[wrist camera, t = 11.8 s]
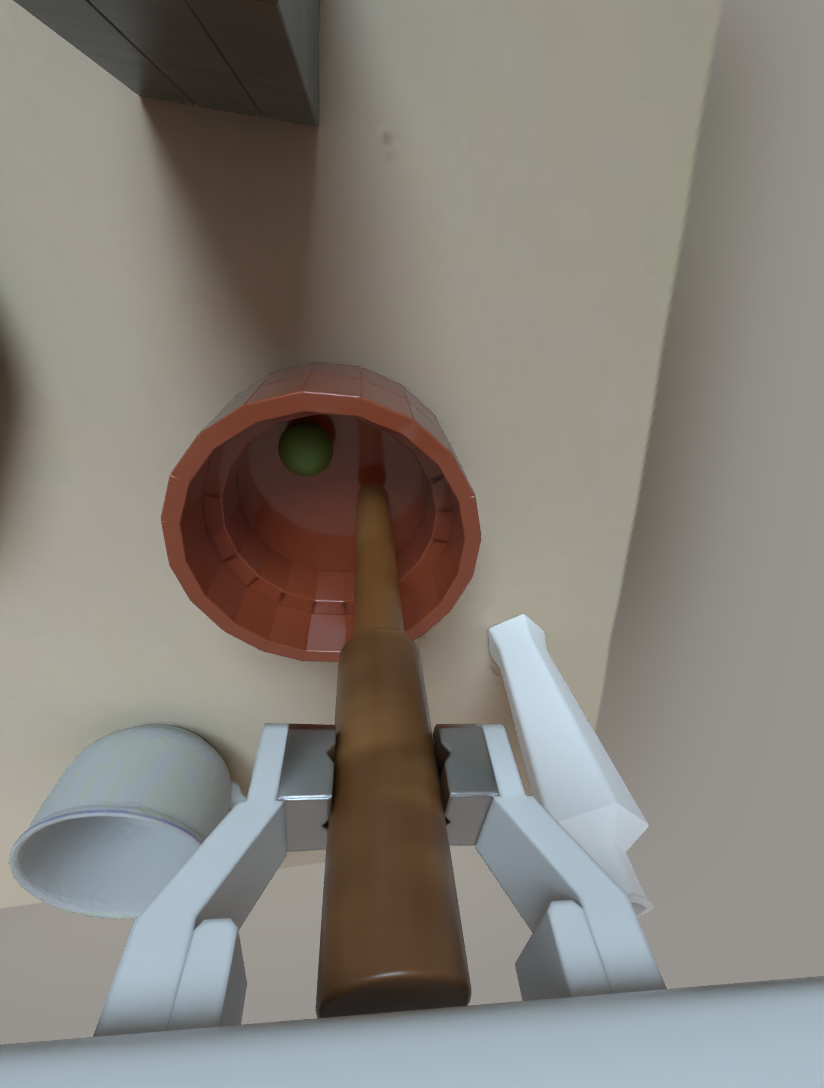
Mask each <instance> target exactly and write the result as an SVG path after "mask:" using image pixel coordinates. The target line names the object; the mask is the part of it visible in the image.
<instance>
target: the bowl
mask: <svg viewBox="0 0 824 1088" xmlns="http://www.w3.org/2000/svg"><path fill="white" fill-rule="evenodd" d="M297 422H312V423H315V424H317V425H319V426H320V427H322V428H323V429H324V430H325V431H326V432H327V433H328V435H329V436H330V438H331V440H332V444H333V457H332V460H331V462H330V464H329V465H328V467H327V468H326V469H325V470H324V471H322V472H321V473H319V474H317V475H314V476H300V475H297V474H295V473H293V472H291V471H290V470H289V469H287V468H286V467H285V465H284V464H283V462H282V461H281V459H280V456H279V452H278V444H279V439H280V437H281V435H282V433H283V432H284V431H285V429H286V428H288V427H289V426H290V425H292V424H294V423H297ZM372 483H374V484H378V485H381V486H382V487H384V488H385V490H386V491H387V493H388V499H389V507H390V516H391V524H392V532H393V541H394V549H395V558H396V566H397V575H398V583H399V592H400V600H401V609H402V617H403V626H404V634H405V635H407V636H408V637H410V638H411V639H412V640H415V639H417V638H419V637H421V636H422V635H424V634H425V633H426V632H427V631H428V630H430V629H431V628H432V627H433V626H434V625H435V624H436V623H438V622H439V621H440V620H441V619H442V618H443V617H444V616H446V615H447V614H448V613H449V612H450V611H451V609H453V608H454V606H455V604H456V603H457V601H458V600H459V598H460V596H461V595H462V593H463V591H464V590H465V588H466V587H467V585H468V583H469V582H470V580H471V579H472V576H473V573H474V569H475V564H476V560H477V555H478V551H479V546H480V542H481V531H480V524H479V517H478V510H477V503H476V496H475V494H474V491H473V489H472V487H471V485H470V483H469V481H468V479H467V477H466V475H465V473H464V471H463V469H462V466H461V464H460V462H459V460H458V458H457V456H456V454H455V452H454V450H453V448H452V446H451V444H450V442H449V441H448V439H447V437H446V435H445V433H444V431H443V429H442V428H441V426H440V424H439V422H438V420H437V418H436V417H435V415H434V414H433V413H432V412H431V411H430V410H429V409H428V408H427V407H426V406H425V405H424V404H423V403H422V402H420V401H419V400H418V399H417V398H416V397H415V396H414V395H413V394H412V393H411V392H410V391H409V390H407V389H406V388H405V387H404V386H402V385H401V384H399V383H397V382H394V381H392V380H390V379H388V378H386V377H383V376H381V375H379V374H377V373H375V372H372V371H370V370H368V369H366V368H361V367H360V366H350V365H341V364H331V363H321V362H317V363H316V362H313V363H309V364H305V365H301V366H296V367H292V368H288V369H283V370H279V371H275V372H272V373H270V374H268V375H267V376H265V377H264V378H262V379H261V380H259V381H258V382H256V383H255V384H253V385H251V386H250V387H248V388H247V389H245V390H244V391H242V392H241V393H239V394H238V395H236V396H235V397H234V398H233V399H232V400H231V402H230V403H229V404H228V405H227V406H226V407H225V408H224V409H223V410H222V411H221V412H220V413H219V414H218V415H217V416H216V417H215V418H214V419H213V420H212V421H211V422H210V423H209V424H208V425H207V426H206V427H205V428H204V429H203V430H202V431H201V432H200V433H199V434H198V435H197V437H196V438H195V439H194V441H193V442H192V444H191V445H190V447H189V448H188V449H187V451H186V452H185V454H184V455H183V457H182V458H181V459H180V461H179V462H178V464H177V465H176V466H175V468H174V469H173V471H172V472H171V475H170V477H169V482H168V486H167V491H166V496H165V501H164V505H163V510H162V515H161V523H162V529H163V534H164V540H165V545H166V550H167V556H168V561H169V565H170V567H171V569H172V570H173V572H174V574H175V575H176V577H177V579H178V580H179V582H180V584H181V586H182V587H183V589H184V591H185V592H186V594H187V596H188V597H189V599H190V601H192V602H193V603H194V604H195V605H196V606H197V607H198V608H199V609H200V610H201V611H202V612H203V613H205V614H206V615H207V616H208V617H209V618H210V619H211V620H212V621H213V622H214V623H216V624H217V625H218V626H219V627H220V628H221V629H222V630H224V631H225V632H226V633H228V634H230V635H232V636H234V637H236V638H238V639H240V640H242V641H244V642H246V643H248V644H250V645H252V646H254V647H255V648H257V649H259V650H263V651H264V652H268V653H272V654H276V655H280V656H284V657H288V658H292V659H296V660H300V661H304V660H305V661H327V662H339V655H340V652H341V650H342V648H343V647H344V645H345V644H346V643H347V642H348V641H349V640H350V639H351V638H352V637H353V611H354V579H355V547H356V515H357V494H358V492H359V490H360V489H361V488H362V487H363V486H365V485H367V484H372Z"/></svg>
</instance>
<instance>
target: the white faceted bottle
mask: <svg viewBox="0 0 824 1088" xmlns="http://www.w3.org/2000/svg"><path fill="white" fill-rule="evenodd" d="M488 638H489V653H490V655H491V657H492V658H493V659H494V661H495V662H496V663H497V665H498V666H499V667H500V669H501V673H502V677H503V681H504V685H505V689H506V693H507V697H508V701H509V705H510V709H511V713H512V717H513V721H514V725H515V729H516V733H517V737H518V741H519V745H520V749H521V753H522V757H523V760H524V764H525V768H526V772H527V776H528V780H529V784H530V788H531V792H532V796H533V797H534V798H535V799H536V800H537V801H538V802H539V803H540V804H541V805H542V806H543V807H544V808H545V809H546V810H547V811H548V812H549V813H550V814H551V815H552V816H553V818H554V819H555V820H556V821H557V822H558V823H559V824H560V825H561V826H562V827H563V828H564V829H565V830H566V831H567V832H568V833H569V834H570V835H571V836H572V837H573V839H574V840H575V841H576V842H577V843H578V844H579V845H580V846H581V847H582V848H583V849H584V850H585V851H586V852H587V853H588V854H589V855H590V856H591V857H592V858H593V860H594V861H595V862H596V863H597V864H598V865H599V866H600V867H601V868H602V869H603V870H604V871H605V872H606V873H607V874H608V875H609V876H610V877H611V878H612V879H613V881H614V882H615V883H616V884H617V885H618V886H619V887H620V888H621V889H622V890H623V891H624V892H625V893H626V894H627V895H628V897H629V900H630V902H631V904H632V907H633V909H634V912H635V914H636V916H637V918H639V917H640V916H642V915H643V914H645V913H646V912H648V911H650V910H651V909H652V908H654V905H653V904H652V903H651V902H650V901H649V900H647V898H646V896H645V894H644V892H643V890H642V887H641V885H640V883H639V881H638V878H637V876H636V874H635V872H634V869H633V867H632V865H631V863H630V861H629V858H628V856H627V854H626V851H627V850H628V849H629V848H630V847H631V846H632V845H633V844H634V842H635V841H636V840H637V839H638V838H639V837H640V835H641V834H642V833H643V832H644V831H645V830H646V829H647V828H648V826H649V825H648V823H647V821H646V819H645V818H644V816H643V814H642V813H641V811H640V809H639V807H638V806H637V804H636V802H635V801H634V799H633V797H632V796H631V794H630V792H629V791H628V789H627V787H626V785H625V784H624V782H623V780H622V778H621V777H620V775H619V773H618V772H617V770H616V768H615V766H614V765H613V763H612V761H611V760H610V758H609V756H608V754H607V753H606V751H605V749H604V748H603V746H602V744H601V742H600V741H599V739H598V737H597V736H596V734H595V732H594V730H593V729H592V727H591V725H590V724H589V722H588V720H587V718H586V717H585V715H584V713H583V712H582V710H581V708H580V706H579V705H578V703H577V701H576V700H575V698H574V696H573V695H572V693H571V691H570V689H569V688H568V686H567V684H566V683H565V681H564V679H563V677H562V676H561V674H560V672H559V671H558V669H557V667H556V665H555V664H554V662H553V660H552V659H551V657H550V655H549V653H548V652H547V649H546V640H545V632H544V631H543V630H542V629H541V628H540V627H539V626H537V625H536V624H535V623H534V622H533V621H532V620H531V619H529V618H528V617H527V616H526V615H523V614H522V615H519V616H517V617H514V618H512V619H510V620H507V621H505V622H502V623H500V624H498V625H495V626H493V627H491V628H489V630H488Z"/></svg>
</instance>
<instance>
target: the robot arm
mask: <svg viewBox="0 0 824 1088" xmlns="http://www.w3.org/2000/svg"><path fill="white" fill-rule="evenodd" d="M336 727H337V725H319V724H268V723H265V725H264V728H263V730H262V733H261V737H260V742H259V746H258V751H257V755H256V760H255V764H254V769H253V773H252V778H251V782H250V787H249V791H248V796H247V800H246V801H239V802H238V803H237V804H236V805H235V806H234V807H233V808H232V810H231V811H230V812H229V813H228V814H227V815H226V816H225V818H224V819H223V820H222V821H221V822H220V823H219V824H218V826H217V827H216V828H215V829H214V830H213V831H212V832H211V834H210V835H209V836H208V837H207V838H206V839H205V840H204V842H203V843H202V844H201V845H200V846H199V847H198V848H197V850H196V851H195V852H194V853H193V854H192V855H191V856H190V858H189V859H188V860H187V861H186V862H185V863H184V864H183V866H182V867H181V868H180V869H179V870H178V871H177V872H176V874H175V875H174V876H173V877H172V878H171V879H170V880H169V882H168V883H167V884H166V885H165V886H164V887H163V888H162V889H161V891H160V892H159V893H158V894H157V895H156V896H155V897H154V899H153V900H152V901H151V902H150V903H149V904H148V905H147V907H146V908H145V909H144V910H143V911H142V912H141V913H140V915H139V916H138V917H137V918H136V919H135V921H134V924H133V926H132V929H131V932H130V935H129V938H128V940H127V943H126V946H125V949H124V952H123V954H122V957H121V960H120V963H119V966H118V968H117V971H116V974H115V977H114V980H113V982H112V985H111V988H110V991H109V994H108V997H107V999H106V1002H105V1005H104V1008H103V1010H102V1013H101V1016H100V1019H99V1022H98V1024H97V1027H96V1030H95V1033H94V1036H93V1037H89V1038H76V1039H64V1040H52V1041H40V1042H28V1043H16V1044H4V1045H0V1088H824V976H818V977H806V978H794V979H782V980H770V981H758V982H746V983H734V984H722V985H710V986H698V987H686V988H675V989H667V988H666V986H665V984H664V981H663V979H662V976H661V974H660V972H659V969H658V967H657V964H656V962H655V959H654V957H653V955H652V952H651V950H650V948H649V945H648V943H647V941H646V938H645V936H644V933H643V931H642V929H641V926H640V924H639V921H638V919H637V916H636V914H635V912H634V909H633V907H632V904H631V902H630V900H629V897H628V895H627V894H626V893H625V892H624V891H623V890H622V889H621V888H620V887H619V886H618V885H617V884H616V883H615V882H614V881H613V879H612V878H611V877H610V876H609V875H608V874H607V873H606V872H605V871H604V870H603V869H602V868H601V867H600V866H599V865H598V864H597V863H596V862H595V861H594V860H593V858H592V857H591V856H590V855H589V854H588V853H587V852H586V851H585V850H584V849H583V848H582V847H581V846H580V845H579V844H578V843H577V842H576V841H575V840H574V839H573V837H572V836H571V835H570V834H569V833H568V832H567V831H566V830H565V829H564V828H563V827H562V826H561V825H560V824H559V823H558V822H557V821H556V820H555V819H554V818H553V816H552V815H551V814H550V813H549V812H548V811H547V810H546V809H545V808H544V807H543V806H542V805H541V804H540V803H539V802H538V801H537V800H536V799H535V798H534V797H533V796H526V794H525V791H524V787H523V784H522V781H521V778H520V774H519V771H518V768H517V765H516V762H515V758H514V755H513V752H512V749H511V745H510V742H509V739H508V736H507V733H506V729H505V728H504V726H503V725H501V724H480V725H479V724H436V726H435V727H434V731H433V741H434V749H435V756H436V762H437V769H438V775H439V782H440V788H441V795H442V801H443V808H444V814H445V821H446V827H447V834H448V841H449V846H451V845H476V847H475V848H476V850H477V851H478V853H479V854H480V856H481V857H482V859H483V860H484V862H485V863H486V865H487V866H488V868H489V869H490V870H491V872H492V873H493V875H494V876H495V878H496V879H497V881H498V882H499V884H500V885H501V887H502V888H503V890H504V891H505V893H506V894H507V896H508V897H509V898H510V900H511V901H512V903H513V905H514V906H515V908H516V909H517V910H518V912H519V913H520V915H521V916H522V918H523V919H524V921H525V922H526V924H527V925H528V927H529V928H530V930H531V931H532V933H533V934H532V936H531V937H530V939H529V941H528V942H527V944H526V946H525V947H524V949H523V951H522V953H521V954H520V956H519V958H518V959H517V961H516V963H515V967H516V971H517V977H518V981H519V986H520V991H521V996H522V1001H519V1002H507V1003H495V1004H483V1005H471V1006H459V1007H447V1008H435V1009H423V1010H411V1011H399V1012H387V1013H375V1014H363V1015H351V1016H339V1017H327V1018H317V1019H304V1020H291V1021H280V1022H269V1023H255V1024H243V1025H241V1020H242V1014H243V1007H244V1001H245V994H246V988H247V980H246V974H245V968H244V962H243V956H242V950H241V944H240V938H239V932H238V931H239V929H240V928H241V926H242V924H243V922H244V921H245V920H246V918H247V916H248V915H249V913H250V912H251V910H252V909H253V907H254V905H255V904H256V902H257V901H258V899H259V898H260V896H261V894H262V893H263V891H264V890H265V888H266V886H267V885H268V883H269V882H270V880H271V879H272V877H273V876H274V874H275V872H276V871H277V869H278V868H279V866H280V865H281V863H282V861H283V860H284V858H285V857H286V852H293V851H308V850H324V849H326V846H327V831H328V820H329V819H330V817H331V810H332V795H333V779H334V761H335V746H336Z"/></svg>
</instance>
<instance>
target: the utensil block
mask: <svg viewBox="0 0 824 1088" xmlns="http://www.w3.org/2000/svg"><path fill="white" fill-rule="evenodd" d="M14 1H15V2H16V3H18V4H19V5H20V6H21V7H23V8H24V9H25V10H27V11H28V12H29V13H31V14H32V15H33V16H35V17H36V18H37V19H39V20H40V21H41V22H43V23H44V24H45V25H47V26H48V27H49V28H51V29H52V30H53V31H55V32H56V33H57V34H58V35H60V36H61V37H62V38H64V39H65V40H66V41H68V42H69V43H70V44H72V45H73V46H74V47H76V48H77V49H78V50H80V51H81V52H82V53H84V54H85V55H86V56H88V57H89V58H90V59H91V60H93V61H94V62H95V63H97V64H98V65H99V66H101V67H102V68H103V69H105V70H106V71H107V72H109V73H110V74H111V75H113V76H114V77H115V78H117V79H118V80H119V81H121V82H122V83H123V84H125V85H126V86H127V87H128V88H130V89H131V90H132V91H134V92H135V93H136V94H138V95H139V96H144V97H150V98H156V99H161V100H167V101H173V102H179V103H185V104H191V105H196V104H197V105H198V106H201V107H207V108H213V109H219V110H225V111H231V112H236V113H242V114H248V115H254V116H260V117H263V116H264V117H266V118H272V119H278V120H284V121H290V122H295V123H301V124H307V125H313V126H318V124H319V5H320V0H14Z"/></svg>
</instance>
